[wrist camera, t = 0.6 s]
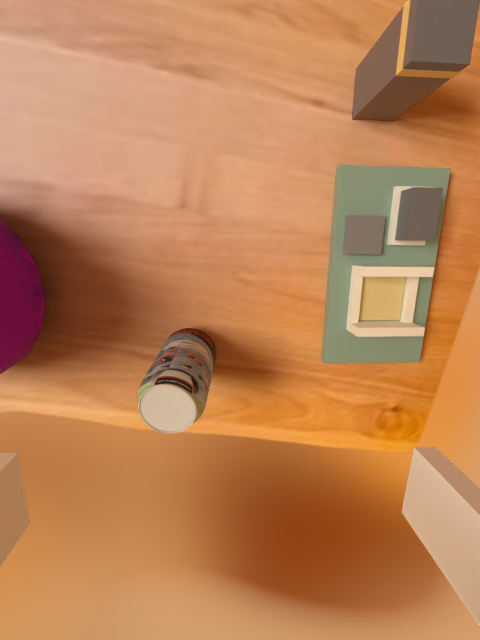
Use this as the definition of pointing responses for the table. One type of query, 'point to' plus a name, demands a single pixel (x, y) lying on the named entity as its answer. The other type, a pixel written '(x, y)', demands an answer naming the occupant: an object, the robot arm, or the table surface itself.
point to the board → (382, 262)
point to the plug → (414, 57)
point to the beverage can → (178, 382)
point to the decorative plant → (18, 299)
